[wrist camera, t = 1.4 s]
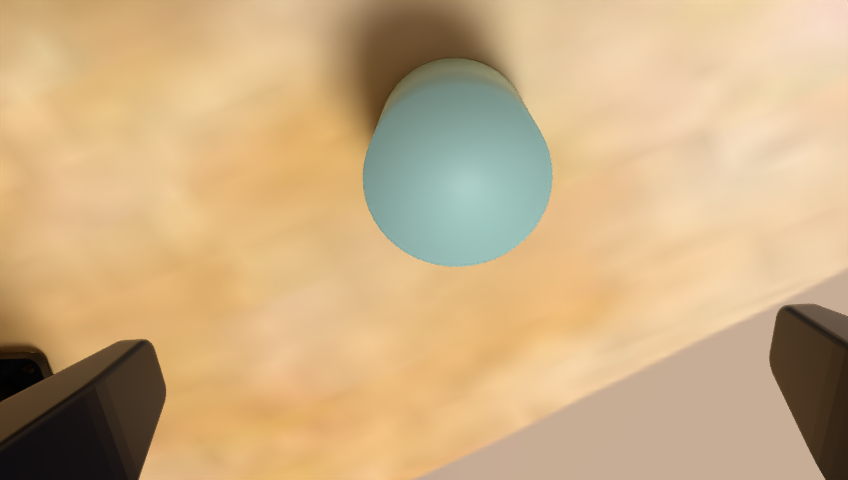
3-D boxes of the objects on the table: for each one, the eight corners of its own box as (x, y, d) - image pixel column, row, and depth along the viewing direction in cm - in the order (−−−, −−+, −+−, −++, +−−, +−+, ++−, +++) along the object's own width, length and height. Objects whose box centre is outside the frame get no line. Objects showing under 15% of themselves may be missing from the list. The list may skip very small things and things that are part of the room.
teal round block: (527, 199, 22) (550, 262, 17) (386, 206, 22) (372, 271, 18) (527, 52, 20) (554, 79, 15) (372, 62, 20) (352, 92, 15)
